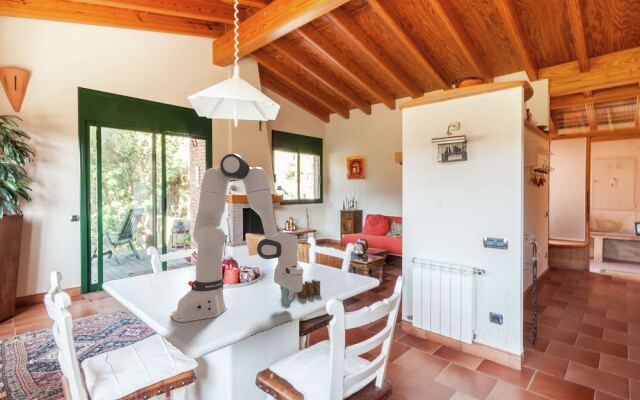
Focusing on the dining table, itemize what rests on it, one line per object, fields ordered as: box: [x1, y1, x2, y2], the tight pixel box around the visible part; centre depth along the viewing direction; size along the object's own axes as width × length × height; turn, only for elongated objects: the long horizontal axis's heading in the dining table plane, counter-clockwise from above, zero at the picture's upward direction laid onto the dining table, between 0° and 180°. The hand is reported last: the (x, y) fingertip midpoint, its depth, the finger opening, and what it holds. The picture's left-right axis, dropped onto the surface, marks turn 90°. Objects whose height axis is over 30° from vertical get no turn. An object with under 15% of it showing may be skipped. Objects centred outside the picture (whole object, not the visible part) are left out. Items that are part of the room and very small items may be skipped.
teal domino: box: [281, 287, 292, 305], centre depth 147 cm, size 2×4×7 cm, turn 35°
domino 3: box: [311, 279, 321, 296], centre depth 169 cm, size 2×4×7 cm, turn 37°
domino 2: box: [304, 280, 314, 298], centre depth 166 cm, size 2×4×7 cm, turn 37°
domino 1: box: [296, 282, 307, 300], centre depth 164 cm, size 2×4×7 cm, turn 37°
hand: (286, 297), depth 147 cm, fingers closed on teal domino, 4 cm apart
